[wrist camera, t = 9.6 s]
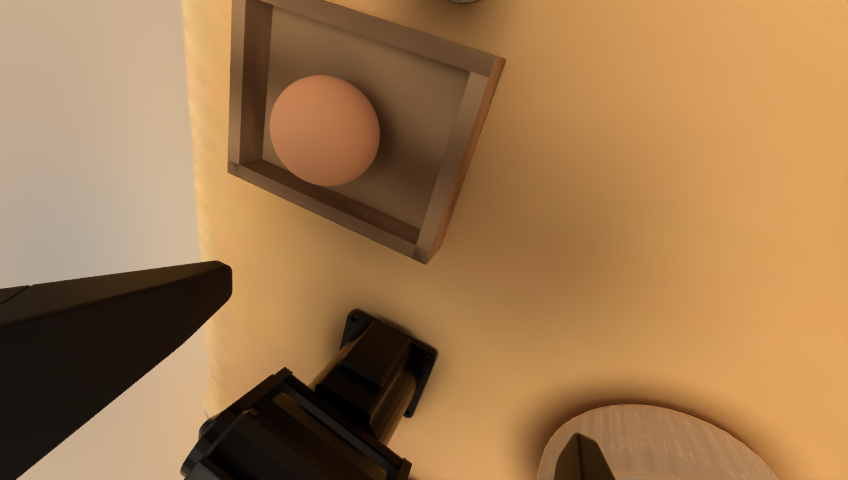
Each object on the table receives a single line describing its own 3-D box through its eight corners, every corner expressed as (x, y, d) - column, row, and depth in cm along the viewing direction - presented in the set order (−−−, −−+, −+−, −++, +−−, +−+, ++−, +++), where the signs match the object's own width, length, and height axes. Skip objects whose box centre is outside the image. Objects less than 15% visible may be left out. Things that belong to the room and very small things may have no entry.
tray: (439, 248, 21) (425, 264, 19) (255, 165, 24) (227, 172, 22) (505, 59, 16) (496, 56, 14) (267, -18, 19) (232, -29, 17)
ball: (352, 219, 19) (322, 168, 14) (275, 176, 20) (223, 116, 15) (404, 145, 20) (392, 75, 15) (329, 108, 21) (297, 33, 16)
